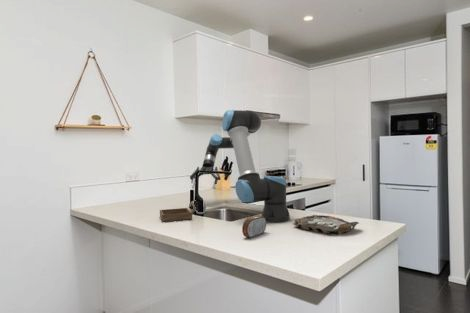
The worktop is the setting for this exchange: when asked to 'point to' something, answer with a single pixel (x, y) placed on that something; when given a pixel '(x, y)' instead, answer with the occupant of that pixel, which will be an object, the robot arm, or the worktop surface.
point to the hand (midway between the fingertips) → (202, 187)
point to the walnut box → (175, 215)
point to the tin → (254, 226)
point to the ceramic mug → (195, 208)
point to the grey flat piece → (325, 224)
